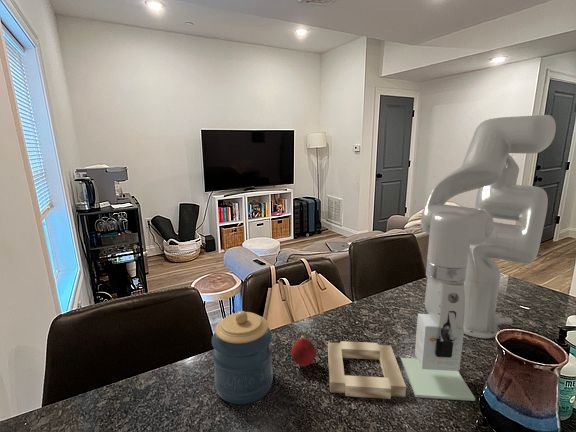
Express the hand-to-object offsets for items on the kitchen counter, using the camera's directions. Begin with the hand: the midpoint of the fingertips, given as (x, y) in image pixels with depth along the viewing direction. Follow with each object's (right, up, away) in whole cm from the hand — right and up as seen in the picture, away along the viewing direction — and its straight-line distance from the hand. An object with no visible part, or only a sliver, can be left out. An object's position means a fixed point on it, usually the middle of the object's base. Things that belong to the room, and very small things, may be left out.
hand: (437, 346), depth 70 cm
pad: (0, -8, +2) cm, 8 cm away
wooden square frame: (-16, -8, +4) cm, 18 cm away
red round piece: (-30, -8, +7) cm, 31 cm away
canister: (-43, -9, +1) cm, 44 cm away
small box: (0, -4, +1) cm, 4 cm away
